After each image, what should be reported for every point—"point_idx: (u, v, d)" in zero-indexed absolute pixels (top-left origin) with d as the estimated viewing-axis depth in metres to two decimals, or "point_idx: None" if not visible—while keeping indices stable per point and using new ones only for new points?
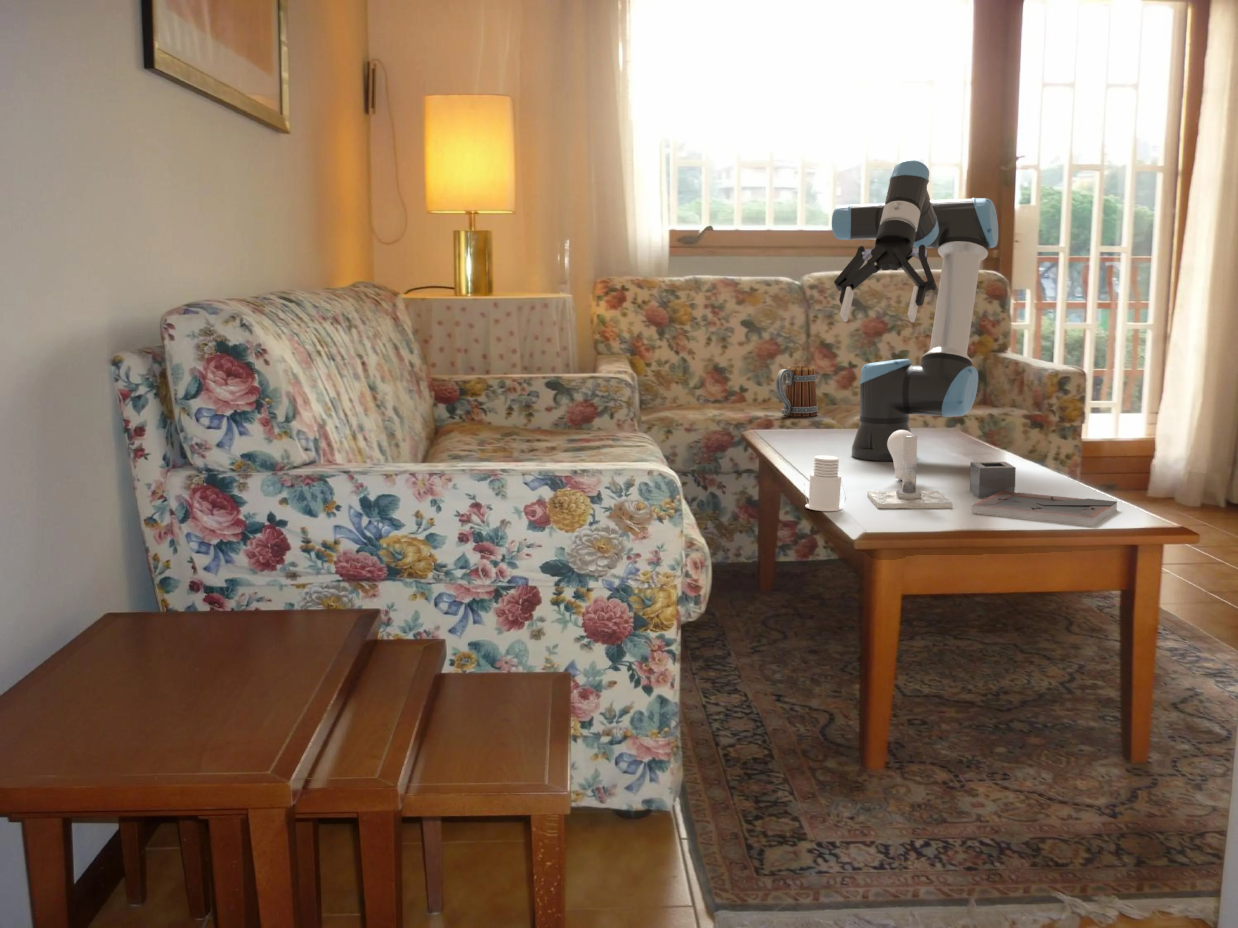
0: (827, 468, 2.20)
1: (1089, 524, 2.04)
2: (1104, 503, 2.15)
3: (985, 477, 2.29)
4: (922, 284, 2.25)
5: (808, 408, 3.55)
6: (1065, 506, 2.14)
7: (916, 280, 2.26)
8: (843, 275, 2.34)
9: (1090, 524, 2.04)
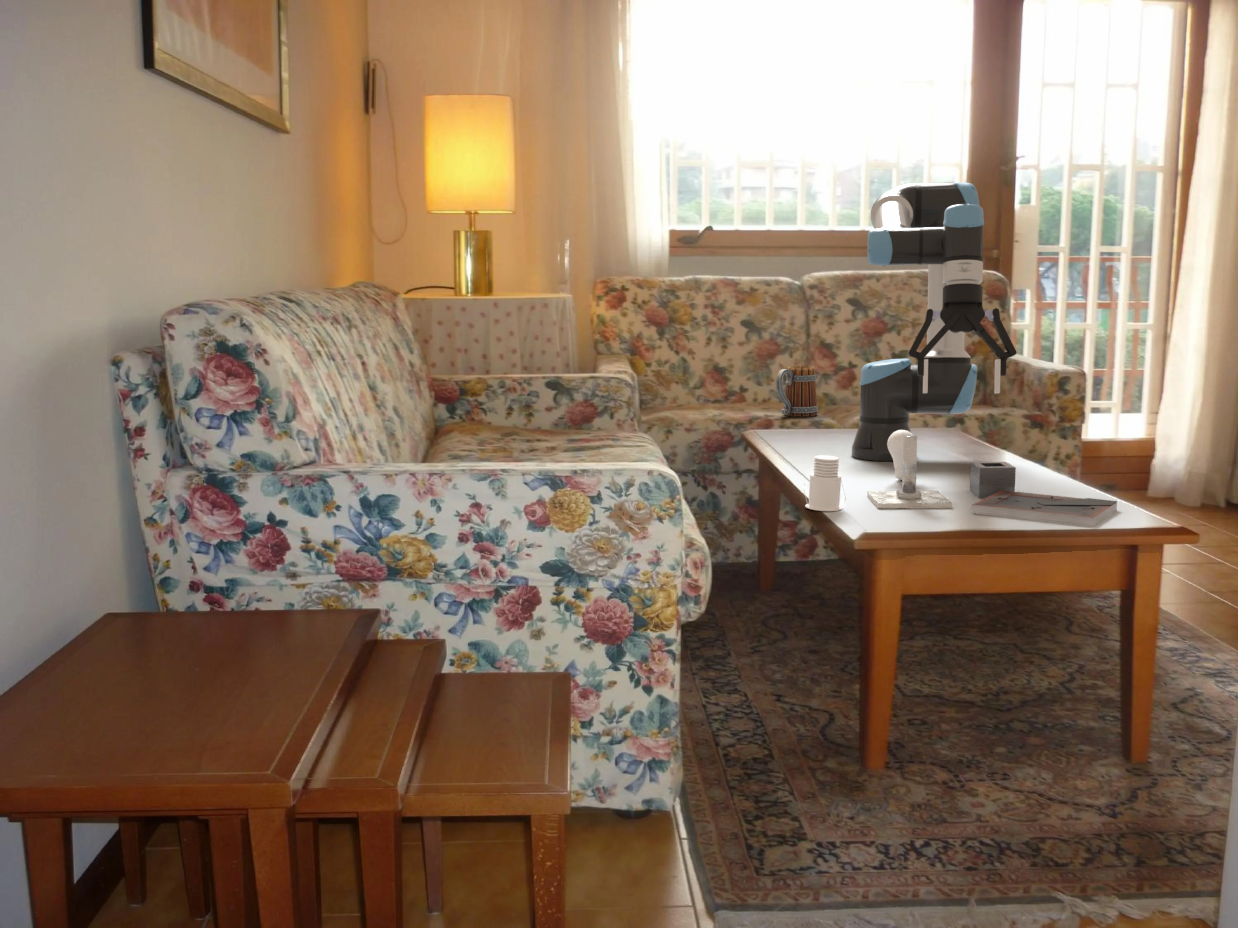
0: (827, 468, 2.20)
1: (1089, 524, 2.04)
2: (1104, 503, 2.15)
3: (985, 477, 2.29)
4: (1005, 357, 2.25)
5: (808, 408, 3.55)
6: (1065, 506, 2.14)
7: (997, 351, 2.26)
8: (917, 345, 2.28)
9: (1090, 524, 2.04)
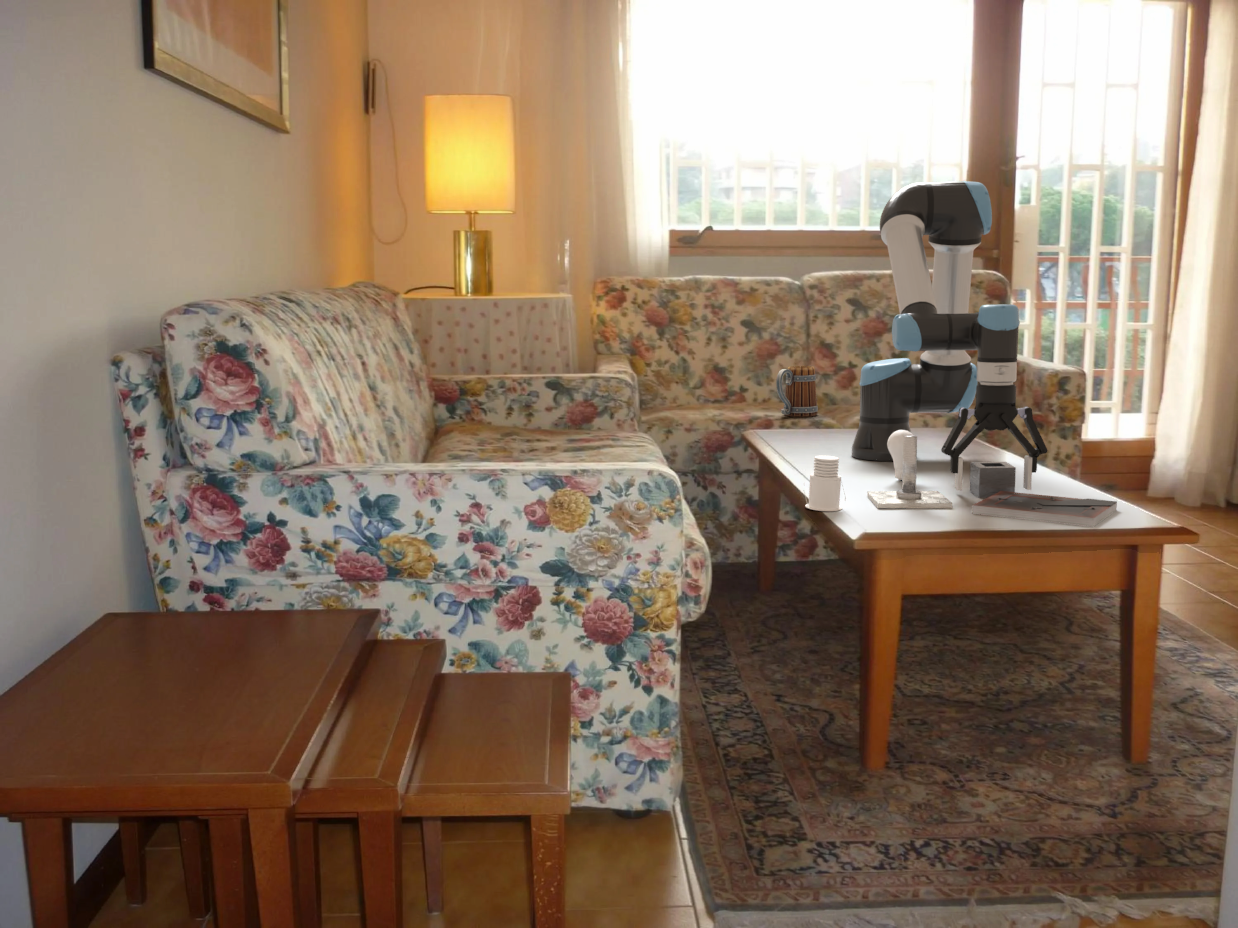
0: (827, 468, 2.20)
1: (1090, 524, 2.04)
2: (1104, 503, 2.15)
3: (985, 477, 2.29)
4: None
5: (808, 408, 3.55)
6: (1065, 506, 2.14)
7: (1029, 450, 2.30)
8: (952, 444, 2.30)
9: (1091, 524, 2.04)
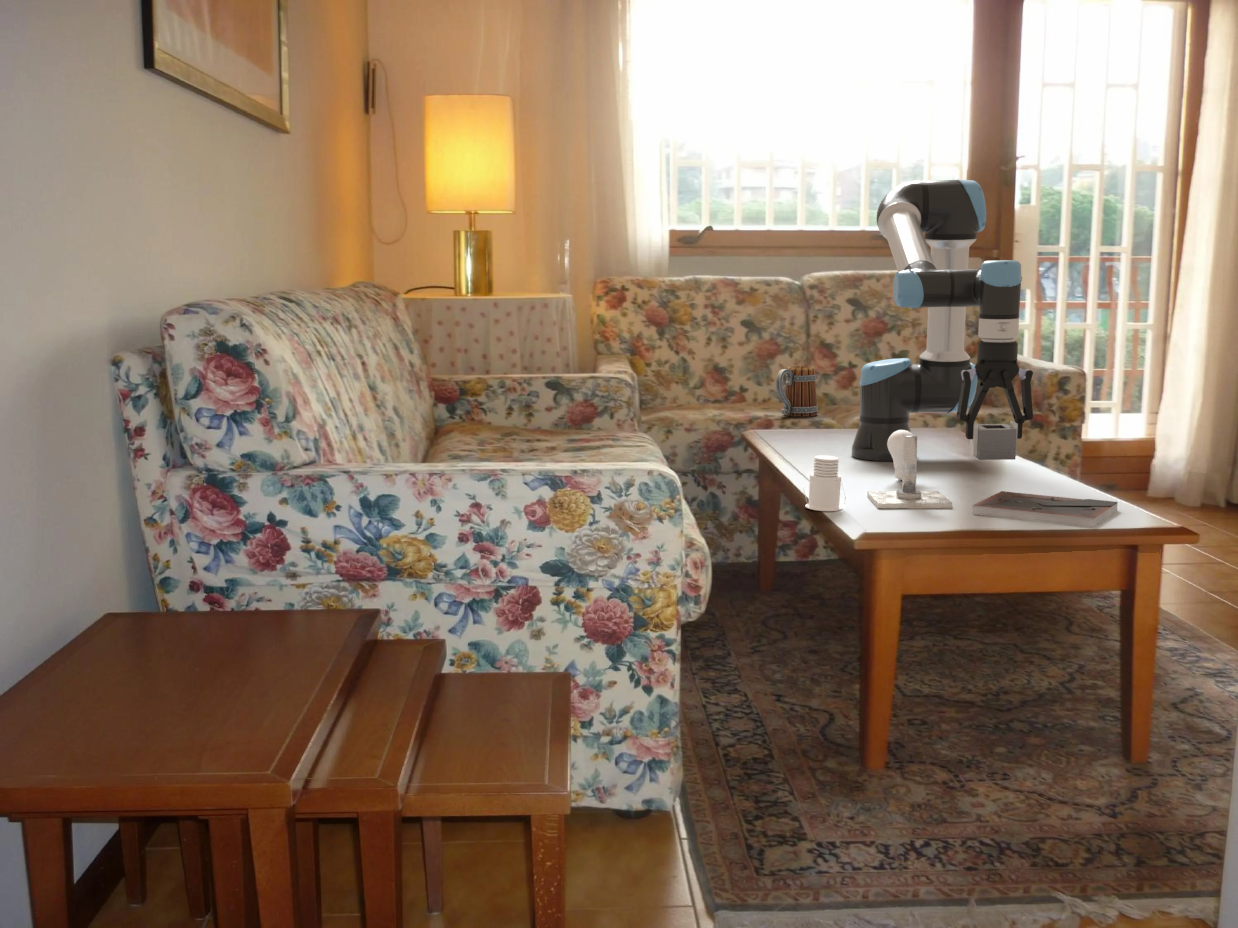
0: (827, 468, 2.20)
1: (1090, 524, 2.03)
2: (1105, 503, 2.14)
3: (986, 439, 2.29)
4: None
5: (808, 408, 3.55)
6: (1066, 506, 2.14)
7: (1016, 414, 2.29)
8: (965, 408, 2.30)
9: (1091, 524, 2.03)
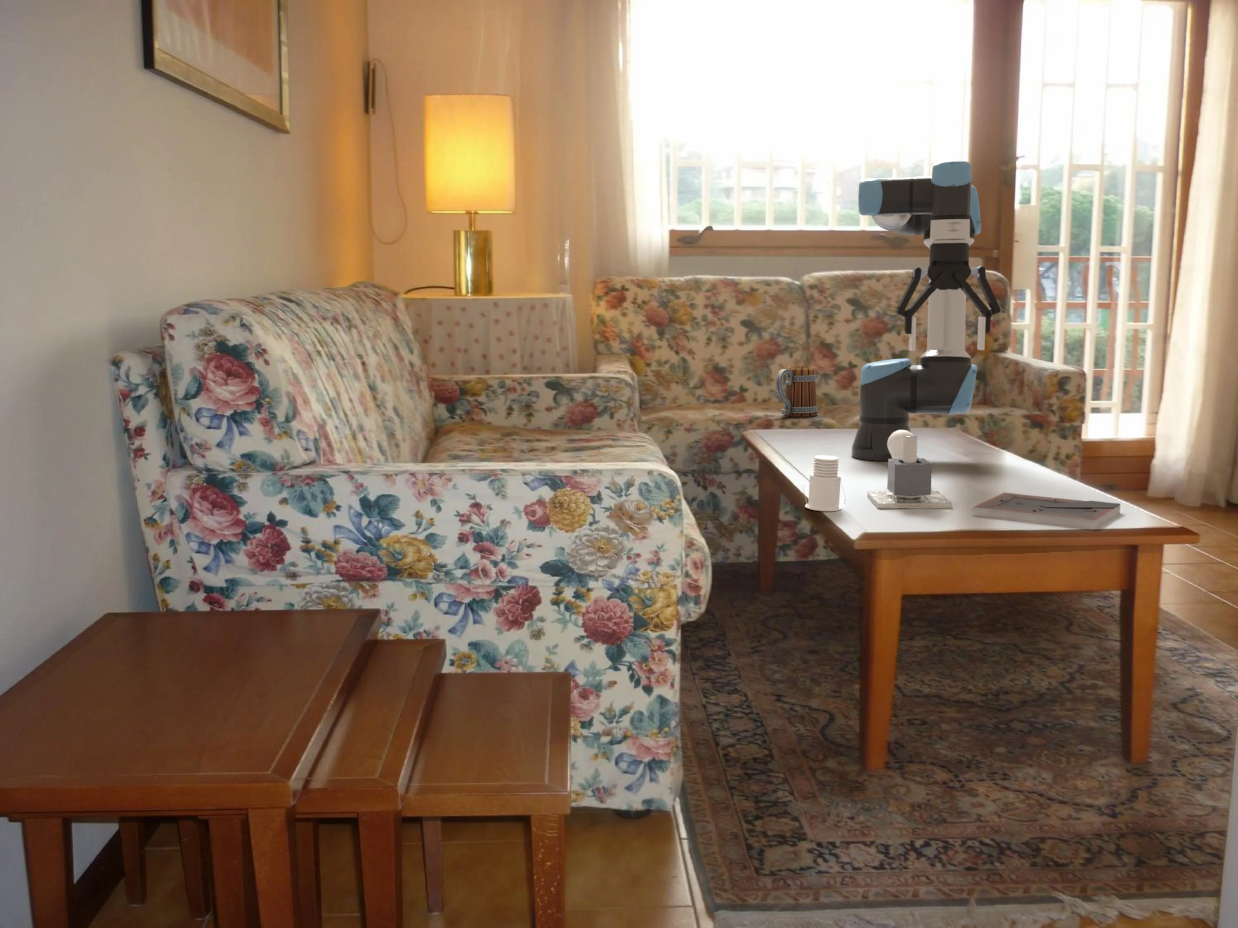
0: (827, 468, 2.20)
1: (1091, 526, 2.02)
2: (1107, 505, 2.13)
3: (900, 474, 2.23)
4: None
5: (808, 408, 3.55)
6: (1067, 508, 2.12)
7: (983, 309, 2.30)
8: (905, 304, 2.30)
9: (1092, 526, 2.02)
